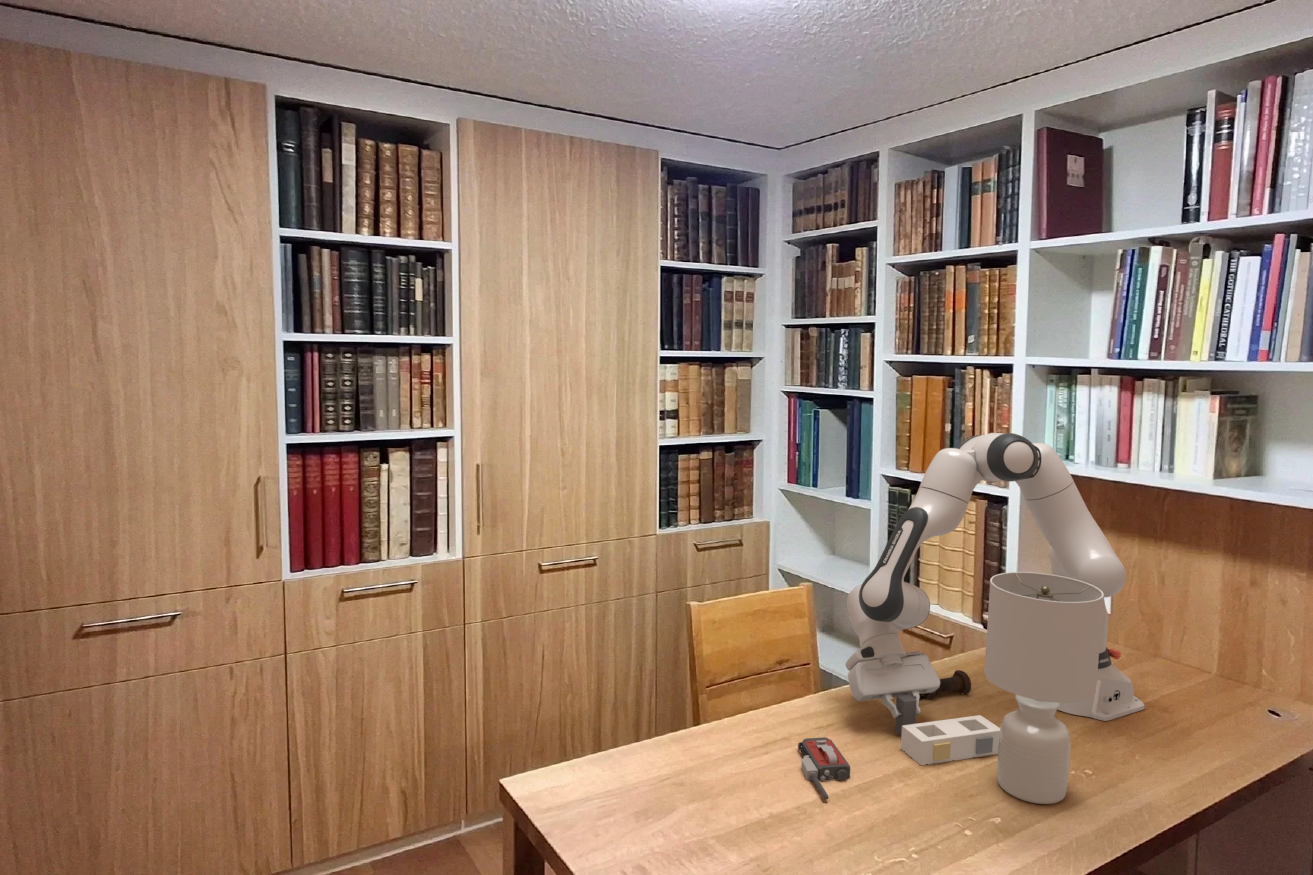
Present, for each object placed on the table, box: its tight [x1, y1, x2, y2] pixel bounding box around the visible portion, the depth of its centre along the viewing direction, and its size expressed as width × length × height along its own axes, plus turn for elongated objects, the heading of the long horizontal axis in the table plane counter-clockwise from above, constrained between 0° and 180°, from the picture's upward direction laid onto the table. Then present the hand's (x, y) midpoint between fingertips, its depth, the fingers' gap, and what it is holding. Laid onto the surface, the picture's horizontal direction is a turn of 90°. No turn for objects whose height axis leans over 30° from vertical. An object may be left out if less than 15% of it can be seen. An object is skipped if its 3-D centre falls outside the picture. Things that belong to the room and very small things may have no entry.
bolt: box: [919, 669, 972, 700], centre depth 193 cm, size 6×5×15 cm
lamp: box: [983, 571, 1104, 805], centre depth 151 cm, size 19×19×39 cm
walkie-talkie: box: [797, 736, 851, 800], centre depth 157 cm, size 9×4×20 cm
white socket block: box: [900, 714, 1000, 766], centre depth 166 cm, size 19×8×5 cm, turn 106°
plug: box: [894, 694, 917, 737], centre depth 173 cm, size 3×3×8 cm
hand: (907, 715), depth 173 cm, fingers closed on plug, 3 cm apart
